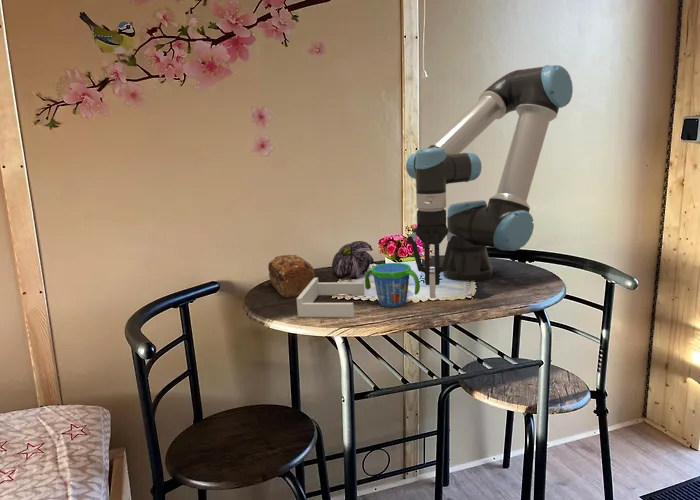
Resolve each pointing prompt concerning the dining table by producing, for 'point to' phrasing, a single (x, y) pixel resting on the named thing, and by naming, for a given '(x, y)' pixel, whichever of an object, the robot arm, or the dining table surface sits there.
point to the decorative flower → (352, 260)
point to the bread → (290, 274)
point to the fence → (327, 309)
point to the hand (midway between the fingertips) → (432, 296)
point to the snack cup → (392, 283)
